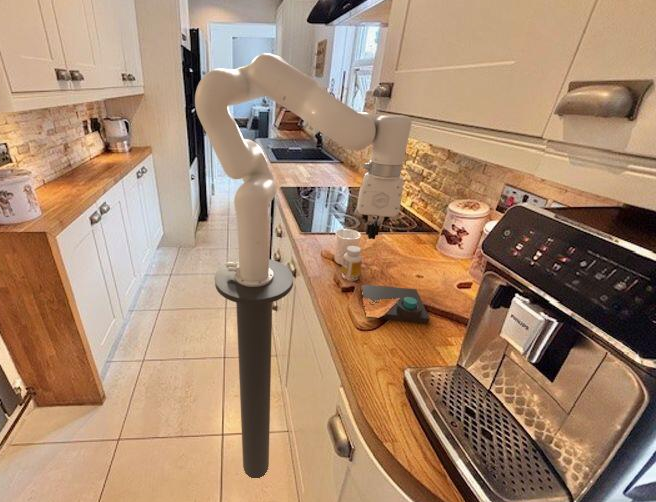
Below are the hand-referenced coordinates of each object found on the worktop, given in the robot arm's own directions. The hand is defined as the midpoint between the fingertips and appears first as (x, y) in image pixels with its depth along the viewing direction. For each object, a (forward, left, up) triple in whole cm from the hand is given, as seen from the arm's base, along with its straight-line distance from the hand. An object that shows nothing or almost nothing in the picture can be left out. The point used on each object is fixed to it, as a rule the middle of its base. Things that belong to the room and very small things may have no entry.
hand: (371, 236), depth 88 cm
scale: (+7, -8, -16) cm, 19 cm away
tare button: (+10, -12, -13) cm, 20 cm away
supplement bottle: (-3, +5, -16) cm, 17 cm away
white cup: (-4, +15, -16) cm, 22 cm away
